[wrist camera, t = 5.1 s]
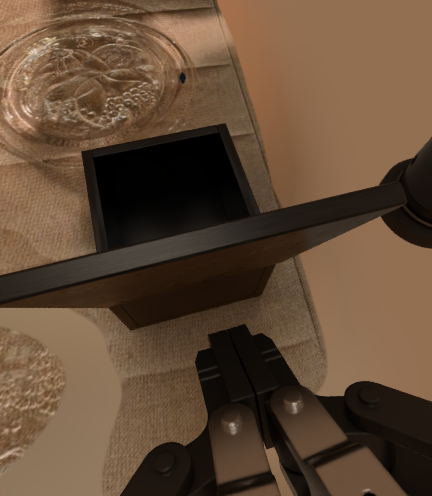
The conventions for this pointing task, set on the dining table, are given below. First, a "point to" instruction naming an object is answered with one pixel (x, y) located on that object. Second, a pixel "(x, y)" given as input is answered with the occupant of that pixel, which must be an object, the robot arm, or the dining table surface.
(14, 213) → the dining table surface
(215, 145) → the hinged lid box
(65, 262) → the black square slab
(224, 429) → the robot arm
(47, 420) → the dining table surface
